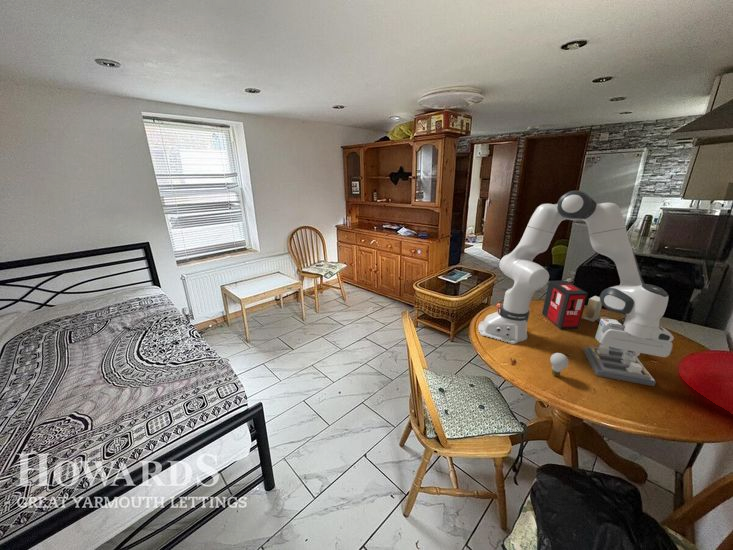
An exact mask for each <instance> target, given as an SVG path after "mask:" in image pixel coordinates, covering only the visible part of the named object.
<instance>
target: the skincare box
mask: <svg viewBox="0 0 733 550" xmlns="http://www.w3.org/2000/svg"><path fill="white" fill-rule="evenodd" d="M587 302H588V303H587V307H586V310H585V313H584V317H583V319H584V320H587V321H588V322H589V321H590V322H591V323H593V322H596V321H597V320H598V319H599V316H600V314H601V310H602V307H603V305H602V304H601V301H600V296H597V295H594V296H592V297H590V298H588V301H587Z"/></svg>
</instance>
